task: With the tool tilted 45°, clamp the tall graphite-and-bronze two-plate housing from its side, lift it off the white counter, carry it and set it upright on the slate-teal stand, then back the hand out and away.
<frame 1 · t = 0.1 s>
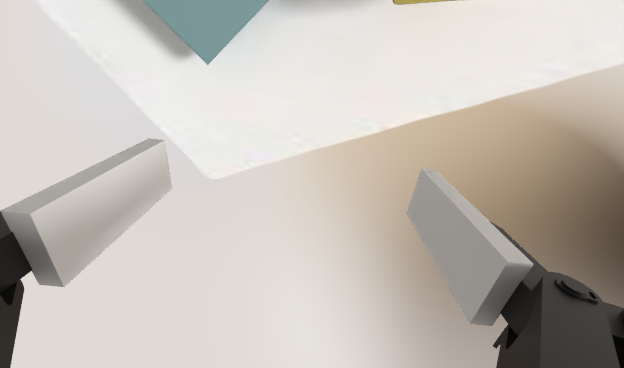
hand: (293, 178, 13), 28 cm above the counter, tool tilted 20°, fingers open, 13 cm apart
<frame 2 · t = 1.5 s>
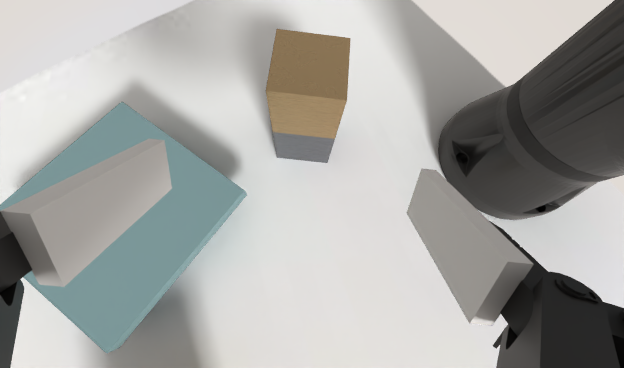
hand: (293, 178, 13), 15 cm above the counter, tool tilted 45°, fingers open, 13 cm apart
teal stand: (144, 217, 27), on the counter
housing: (304, 137, 31), on the counter
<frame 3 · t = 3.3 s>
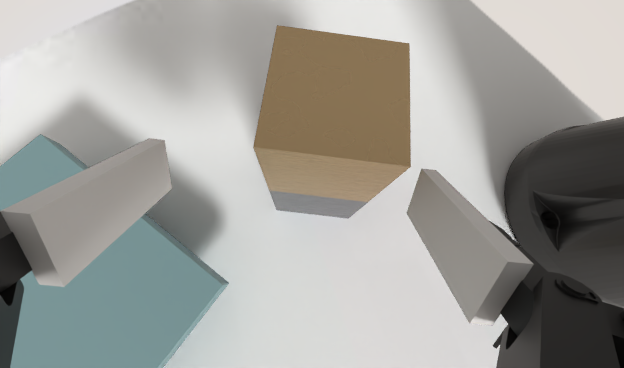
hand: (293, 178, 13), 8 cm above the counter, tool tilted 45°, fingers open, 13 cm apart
teal stand: (77, 306, 18), on the counter
housing: (316, 180, 22), on the counter
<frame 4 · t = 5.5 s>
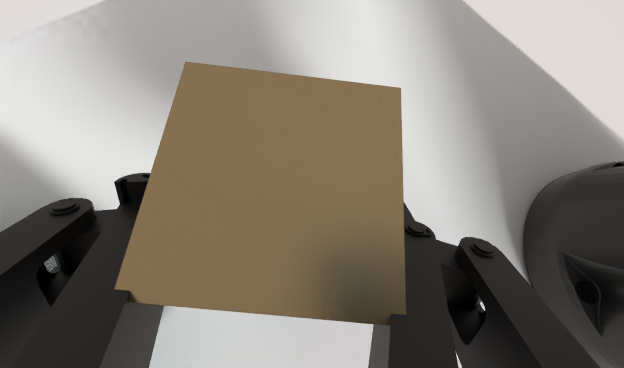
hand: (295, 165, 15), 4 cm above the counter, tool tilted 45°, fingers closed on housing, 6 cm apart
housing: (289, 235, 17), on the counter, touching gripper
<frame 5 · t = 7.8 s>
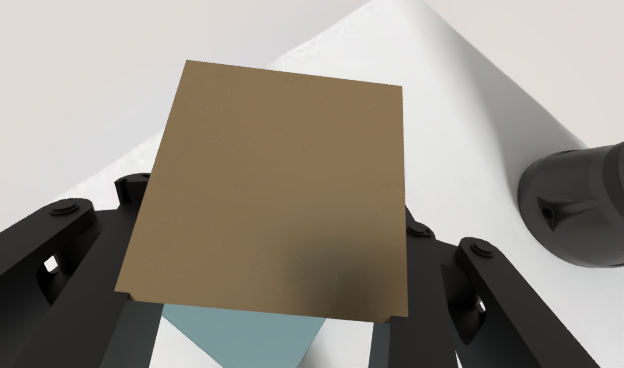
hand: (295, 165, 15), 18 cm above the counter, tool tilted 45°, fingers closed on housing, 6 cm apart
teal stand: (263, 273, 30), on the counter
housing: (290, 234, 17), point 14 cm above the counter, touching gripper
when the fingers open (10 cm above the counter, at t = 10.1 s): housing drops 1 cm, resting on teal stand.
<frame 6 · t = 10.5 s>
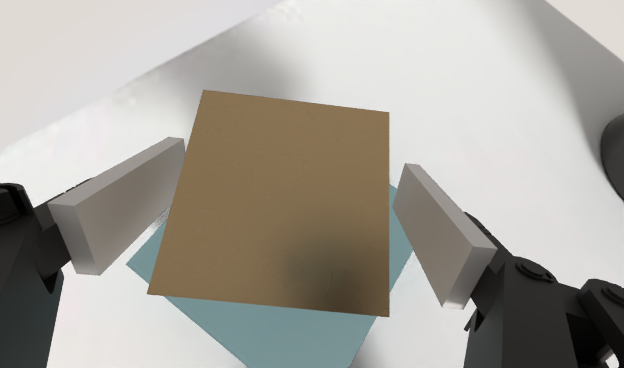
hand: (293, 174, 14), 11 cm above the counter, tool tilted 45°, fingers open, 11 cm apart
teal stand: (290, 242, 23), on the counter
housing: (291, 236, 19), point 4 cm above the counter, touching teal stand
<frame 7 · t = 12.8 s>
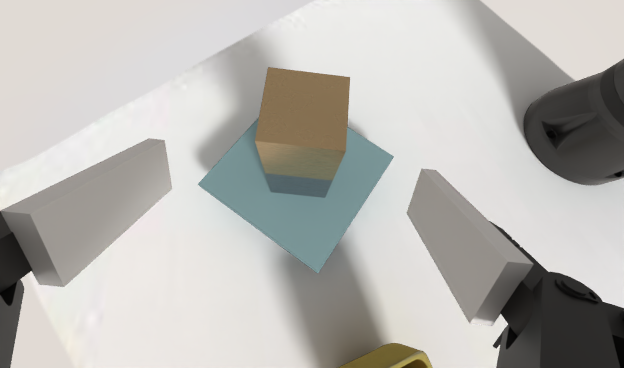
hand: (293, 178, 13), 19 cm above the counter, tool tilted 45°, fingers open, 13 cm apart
teal stand: (299, 182, 33), on the counter
housing: (301, 169, 29), point 4 cm above the counter, touching teal stand
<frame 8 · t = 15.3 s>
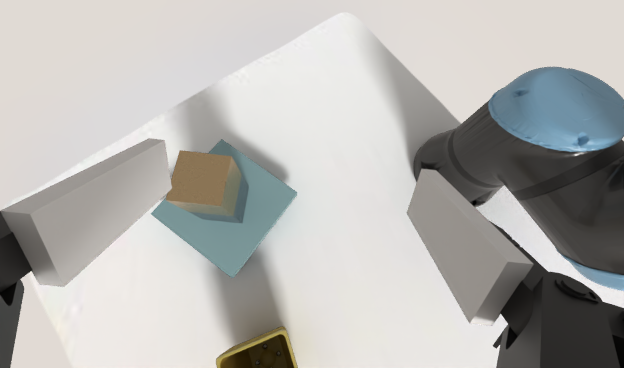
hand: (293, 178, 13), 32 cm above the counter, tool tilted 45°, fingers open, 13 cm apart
teal stand: (232, 208, 44), on the counter
flower pot: (269, 356, 38), on the counter
housing: (226, 202, 40), point 4 cm above the counter, touching teal stand
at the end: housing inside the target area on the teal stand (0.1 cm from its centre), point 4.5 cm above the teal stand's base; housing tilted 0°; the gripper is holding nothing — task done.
